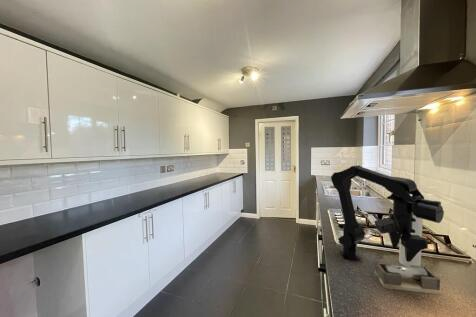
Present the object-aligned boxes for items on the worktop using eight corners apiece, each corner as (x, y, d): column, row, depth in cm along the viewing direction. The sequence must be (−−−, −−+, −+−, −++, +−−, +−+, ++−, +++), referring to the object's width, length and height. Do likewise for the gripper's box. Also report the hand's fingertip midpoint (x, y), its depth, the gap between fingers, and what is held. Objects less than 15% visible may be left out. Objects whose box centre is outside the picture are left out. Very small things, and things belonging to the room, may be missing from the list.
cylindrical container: (424, 269, 84) (427, 209, 82) (405, 267, 85) (407, 209, 83) (413, 259, 91) (415, 204, 89) (395, 258, 92) (397, 204, 90)
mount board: (374, 273, 82) (374, 270, 82) (424, 278, 79) (424, 275, 79) (384, 288, 74) (384, 284, 74) (440, 294, 70) (440, 291, 70)
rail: (420, 275, 77) (420, 265, 77) (427, 283, 73) (428, 272, 73) (384, 272, 80) (384, 262, 79) (389, 279, 76) (389, 268, 75)
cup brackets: (375, 271, 82) (375, 262, 82) (425, 276, 78) (425, 266, 78) (384, 284, 75) (384, 274, 74) (439, 290, 71) (440, 279, 70)
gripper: (367, 204, 86) (366, 240, 87) (390, 222, 68) (388, 267, 69) (398, 205, 83) (396, 242, 85) (430, 224, 65) (427, 270, 67)
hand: (400, 254), depth 76 cm, fingers open, 9 cm apart
